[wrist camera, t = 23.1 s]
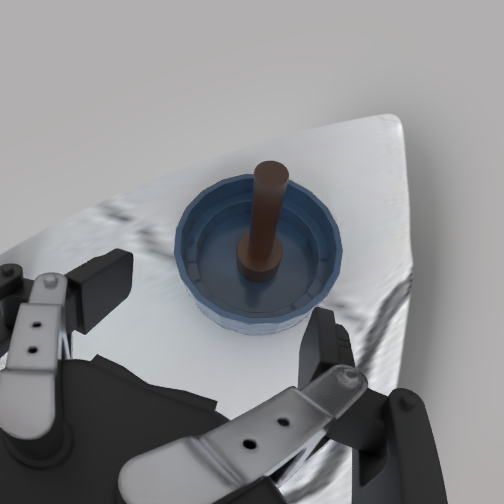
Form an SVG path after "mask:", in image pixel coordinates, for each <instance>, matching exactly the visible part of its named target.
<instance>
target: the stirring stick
mask: <svg viewBox="0 0 504 504" xmlns="http://www.w3.org/2000/svg"><path fill="white" fill-rule="evenodd" d="M288 178H289V172H288V170H287V168H286V167H285V166H284V165H283V164H281V163H279V162H276V161H265V162H262V163H260V164H259V165H258V166H257V167H256V168H255V171H254V183H253V196H252V208H251V221H250V232H248V233H246V234H245V235H244V236H242V237H241V239H240V240H239V242H238V245H237V267H238V270H239V272H240V273H241V275H242V276H243V277H245V278H246V279H248V280H250V281H253V282H264V281H267V280H269V279H271V278H272V277H273V276H274V275H275V274H276V273H277V271H278V268H279V265H280V262H281V259H282V256H283V247H282V244H281V242H280V240H279V239H278V238H277V237H276V236H275V235H276V231H277V226H278V222H279V218H280V213H281V209H282V205H283V200H284V196H285V192H286V187H287V183H288Z"/></svg>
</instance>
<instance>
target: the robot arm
mask: <svg viewBox="0 0 504 504" xmlns="http://www.w3.org/2000/svg"><path fill="white" fill-rule="evenodd" d="M132 273H133V254H132V253H131V252H127V251H124V250H121V249H118V248H116V249H114V250H112V251H110V252H109V253H107V254H105V255H103V256H99V257H94V258H93V259H91V260H89V261H87V263H84V264H82V265H81V266H79V267H77V268H75V269H74V270H72V271H70V272H68V273H67V274H65V275H62V274H59V273H53V272H52V273H44V274H41V275H39V276H38V277H36V279H35V280H30V279H25V278H23V269H22V267H21V266H19V265H17V264H4V265H1V266H0V358H1V357H2V356H3V355H4V354H5V353H6V352H7V351H9V352H8V357H7V362H6V366H5V368H4V369H2V370H1V371H0V504H288V503H287V501H286V500H285V498H284V497H283V495H282V494H281V492H280V491H279V489H278V488H279V487H281V486H282V485H283V484H284V483H285V482H287V481H288V480H289V479H290V478H291V477H292V476H293V475H294V474H295V473H296V472H297V471H298V470H299V469H300V468H301V467H302V466H303V465H305V464H306V463H307V462H308V461H309V460H310V459H311V458H313V457H314V456H315V455H316V454H317V453H318V452H319V451H320V450H321V449H322V448H324V447H325V446H326V445H327V444H328V443H329V442H330V441H331V440H335V441H337V442H339V443H342V444H344V445H347V446H349V447H352V504H448V502H447V496H446V491H445V485H444V480H443V475H442V470H441V466H440V461H439V457H438V453H437V449H436V445H435V441H434V437H433V433H432V429H431V426H430V423H429V419H428V415H427V412H426V409H425V405H424V402H423V401H422V399H421V398H420V397H419V396H418V395H417V394H416V393H414V392H412V391H411V390H408V389H404V388H397V389H394V390H393V391H392V392H391V393H390V395H389V396H386V395H383V394H380V393H378V392H376V391H373V390H371V389H369V388H368V381H367V378H366V377H365V375H364V374H363V373H362V372H360V371H359V370H358V369H356V368H355V363H354V358H353V353H352V349H351V343H350V339H349V334H348V332H347V331H346V330H345V328H344V327H343V326H342V325H340V324H335V318H334V312H333V311H332V310H328V309H324V308H320V307H315V308H314V310H313V312H312V315H311V318H310V320H309V323H308V326H307V328H306V331H305V333H304V336H303V339H302V342H301V346H300V352H299V373H298V389H297V388H296V387H295V386H291V387H288V388H287V389H285V390H283V391H282V392H280V393H279V394H277V395H275V396H274V397H272V398H270V399H269V400H267V401H265V402H263V403H262V404H260V405H258V406H256V407H255V408H253V409H251V410H249V411H248V412H246V413H244V414H242V415H240V416H238V417H237V418H235V419H233V420H231V421H230V420H229V419H228V418H226V417H225V416H223V415H222V414H220V413H219V412H217V411H215V409H216V405H217V402H218V401H215V400H212V399H209V398H205V397H202V396H199V395H196V394H193V393H190V392H187V391H184V390H177V389H171V388H165V387H160V386H154V385H150V384H148V383H146V382H145V381H143V380H142V379H140V378H139V377H137V376H136V375H135V374H133V373H132V372H130V371H129V370H127V369H126V368H125V367H123V366H121V365H119V364H117V363H115V362H112V361H110V360H108V359H106V358H104V357H102V356H100V355H98V354H97V355H96V356H95V357H94V358H93V359H92V360H91V361H87V360H80V359H73V336H72V332H73V331H74V330H76V331H78V332H80V333H82V334H84V335H86V334H87V333H88V332H89V331H90V330H91V329H92V328H93V327H95V326H96V325H97V324H98V323H99V322H100V321H101V320H102V319H103V318H104V317H106V316H107V315H108V314H109V313H110V312H111V311H112V310H113V309H115V308H116V307H117V306H118V305H119V304H120V303H121V302H122V301H124V300H125V299H126V298H127V297H128V295H129V293H130V291H131V287H132Z"/></svg>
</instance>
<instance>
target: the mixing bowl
mask: <svg viewBox="0 0 504 504" xmlns="http://www.w3.org/2000/svg"><path fill="white" fill-rule="evenodd" d="M253 183H254V174H243V175H239V176H235V177H231V178H228V179H224V180H221V181H219V182H217V183H216V184H214V185H212V186H210V187H209V188H207V189H205V190H203V191H202V192H201V193H200V194H199V195H198V196H197V197H196V198H195V199H194V200H193V201H192V202H191V203H190V204H189V205H188V207H187V208H186V209H185V211H184V213H183V215H182V217H181V220H180V222H179V224H178V226H177V228H176V235H175V247H174V255H175V259H176V263H177V266H178V270H179V273H180V277H181V279H182V281H183V283H184V285H185V287H186V289H187V291H188V293H189V295H190V297H191V298H192V299H193V301H194V302H195V304H196V305H197V306H198V308H199V309H200V310H201V312H202V313H203V314H204V315H205V316H207V317H208V318H210V319H211V320H213V321H214V322H215V323H217V324H218V325H220V326H221V327H223V328H225V329H229V330H232V331H236V332H239V333H242V334H246V335H247V334H248V335H260V334H274V333H277V332H280V331H282V330H285V329H288V328H290V327H293V326H295V325H297V324H298V323H299V322H300V321H302V320H303V319H304V318H305V317H306V316H308V315H309V314H310V313H311V312H312V311H313V310H314V308H315V307H317V306H318V305H319V304H320V303H321V302H322V301H323V300H324V298H325V297H326V296H327V295H328V293H329V291H330V290H331V288H332V286H333V284H334V282H335V281H336V279H337V277H338V275H339V272H340V266H341V259H342V253H343V249H342V244H341V238H340V233H339V228H338V226H337V224H336V222H335V220H334V219H333V217H332V215H331V213H330V211H329V210H328V208H327V207H326V206H325V205H324V204H323V203H322V202H321V201H320V200H319V199H318V198H317V197H316V196H315V195H314V194H313V193H312V192H310V191H309V190H307V189H306V188H304V187H302V186H300V185H298V184H296V183H295V182H293V181H291V180H288V183H287V187H286V192H285V196H284V200H283V205H282V209H281V213H280V218H279V222H278V226H277V231H276V235H275V236H276V237H277V238H278V239H279V240H280V242H281V244H282V247H283V256H282V259H281V262H280V265H279V268H278V271H277V273H276V274H275V275H274V276H273V277H272V278H271V279H269V280H267V281H264V282H253V281H250V280H248V279H246V278H245V277H243V276H242V275H241V273H240V272H239V270H238V267H237V245H238V242H239V240H240V239H241V237H242V236H244V235H245V234H246V233H248V232H250V221H251V208H252V196H253Z"/></svg>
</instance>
